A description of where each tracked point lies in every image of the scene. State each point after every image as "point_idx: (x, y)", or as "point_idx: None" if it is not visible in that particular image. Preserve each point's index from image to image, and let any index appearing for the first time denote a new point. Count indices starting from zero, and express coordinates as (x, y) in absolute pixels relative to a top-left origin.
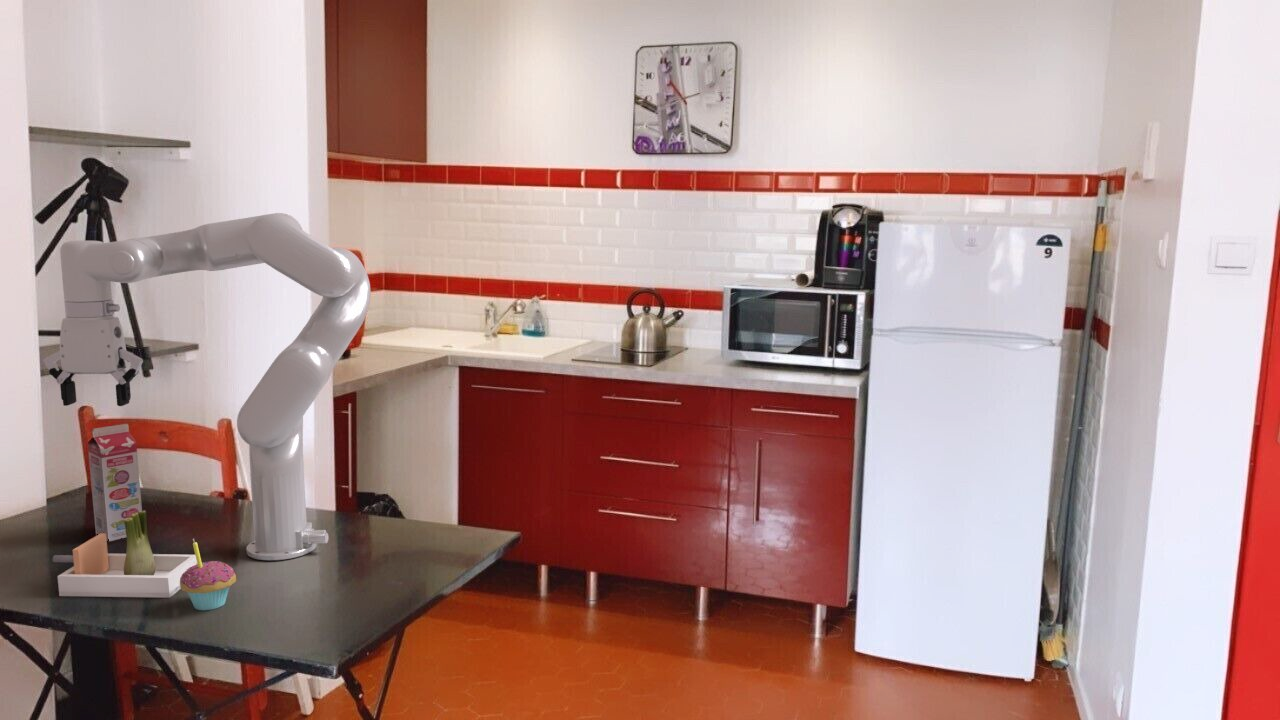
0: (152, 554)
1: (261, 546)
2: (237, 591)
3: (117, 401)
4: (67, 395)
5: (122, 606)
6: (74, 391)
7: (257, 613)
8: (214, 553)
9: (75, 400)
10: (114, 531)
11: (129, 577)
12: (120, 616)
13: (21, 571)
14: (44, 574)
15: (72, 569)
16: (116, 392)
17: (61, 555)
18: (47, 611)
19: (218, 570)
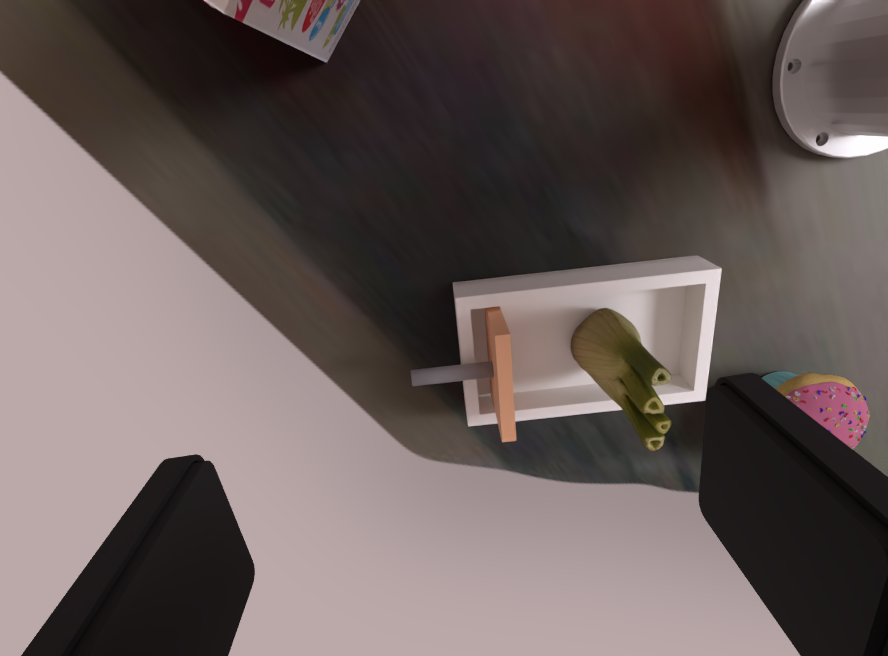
0: (639, 337)
1: (844, 131)
2: (809, 332)
3: (726, 539)
4: (222, 649)
5: (612, 422)
6: (166, 566)
7: (869, 412)
8: (681, 115)
9: (207, 480)
10: (331, 42)
11: (622, 409)
12: (631, 456)
13: (278, 304)
14: (345, 311)
15: (473, 392)
16: (780, 619)
17: (429, 380)
18: (490, 458)
19: (853, 445)
